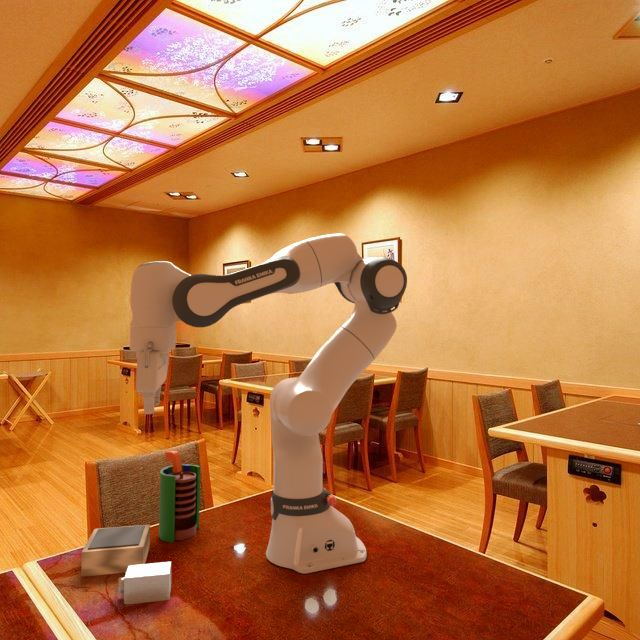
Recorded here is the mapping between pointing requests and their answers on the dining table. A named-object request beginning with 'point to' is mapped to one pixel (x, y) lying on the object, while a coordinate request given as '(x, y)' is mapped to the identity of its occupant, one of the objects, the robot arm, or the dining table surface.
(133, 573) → the block
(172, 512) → the motor
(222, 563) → the dining table surface
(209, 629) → the dining table surface
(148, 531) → the stand
